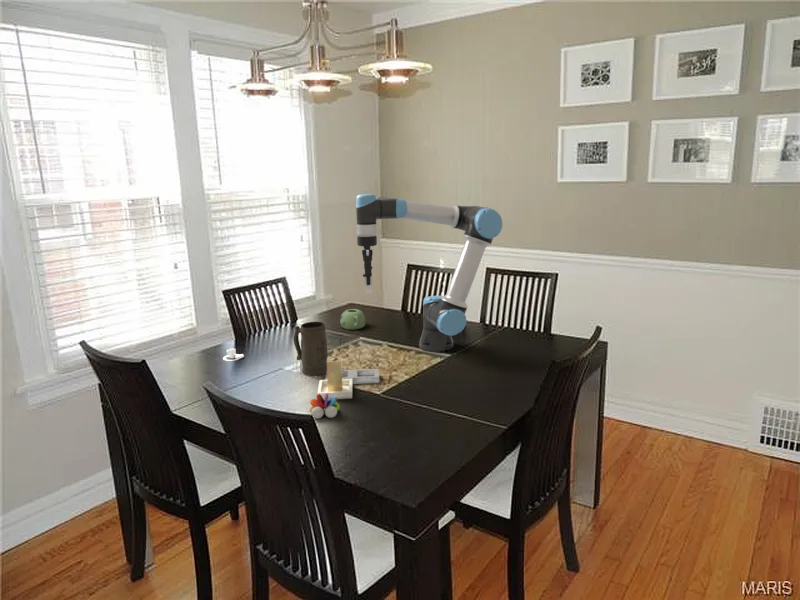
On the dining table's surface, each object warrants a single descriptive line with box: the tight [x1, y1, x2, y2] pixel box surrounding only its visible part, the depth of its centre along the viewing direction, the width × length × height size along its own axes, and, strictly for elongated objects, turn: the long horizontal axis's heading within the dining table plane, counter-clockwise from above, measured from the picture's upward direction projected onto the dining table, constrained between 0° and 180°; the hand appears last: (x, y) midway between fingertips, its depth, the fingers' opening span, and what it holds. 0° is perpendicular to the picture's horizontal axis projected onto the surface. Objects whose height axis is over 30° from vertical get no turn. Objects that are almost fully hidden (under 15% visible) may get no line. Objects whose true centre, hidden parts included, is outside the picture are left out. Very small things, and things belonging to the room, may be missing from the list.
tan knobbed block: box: [327, 356, 343, 392], centre depth 192 cm, size 5×5×12 cm
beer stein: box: [292, 321, 329, 376], centre depth 213 cm, size 15×10×20 cm
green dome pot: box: [339, 308, 366, 331], centre depth 270 cm, size 16×13×9 cm
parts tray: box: [316, 379, 354, 400], centre depth 194 cm, size 12×12×2 cm
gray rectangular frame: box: [324, 368, 380, 385], centre depth 205 cm, size 20×8×2 cm, turn 94°
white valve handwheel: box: [222, 347, 245, 362], centre depth 230 cm, size 9×8×4 cm
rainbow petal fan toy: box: [309, 393, 341, 420], centre depth 176 cm, size 8×10×7 cm
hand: (368, 289), depth 212 cm, fingers open, 13 cm apart
